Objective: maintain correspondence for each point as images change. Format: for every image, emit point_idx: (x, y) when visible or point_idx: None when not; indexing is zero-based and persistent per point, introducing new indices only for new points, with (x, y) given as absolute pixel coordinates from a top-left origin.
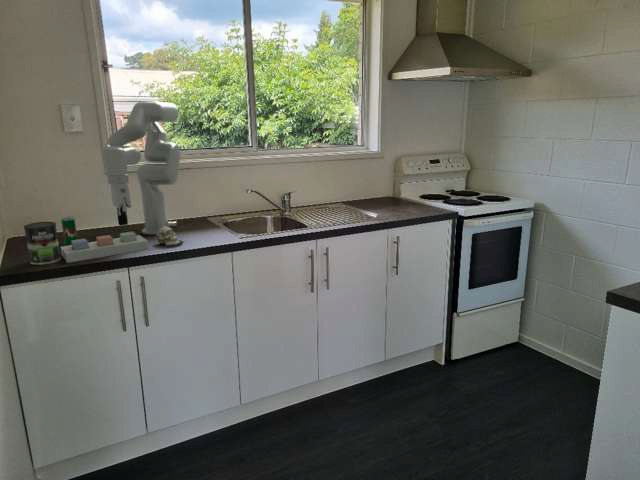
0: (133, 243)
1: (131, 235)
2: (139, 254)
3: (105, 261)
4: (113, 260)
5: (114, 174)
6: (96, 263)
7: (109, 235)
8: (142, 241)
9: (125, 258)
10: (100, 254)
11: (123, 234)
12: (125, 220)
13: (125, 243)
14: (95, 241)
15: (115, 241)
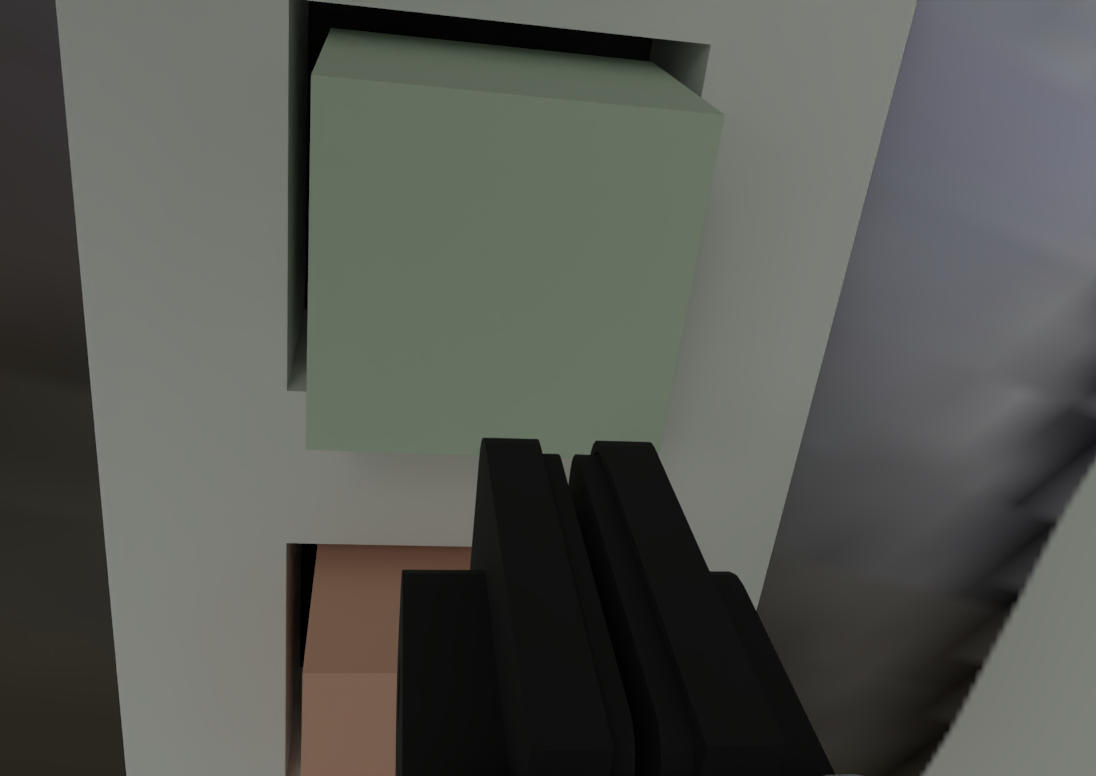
0: (847, 232)
1: (688, 240)
2: (1043, 182)
3: (923, 671)
4: (974, 588)
5: None
6: (907, 761)
7: (363, 681)
8: (908, 2)
9: (1038, 438)
10: None
11: (514, 411)
12: (761, 638)
13: (747, 383)
14: (128, 767)
15: (407, 491)
